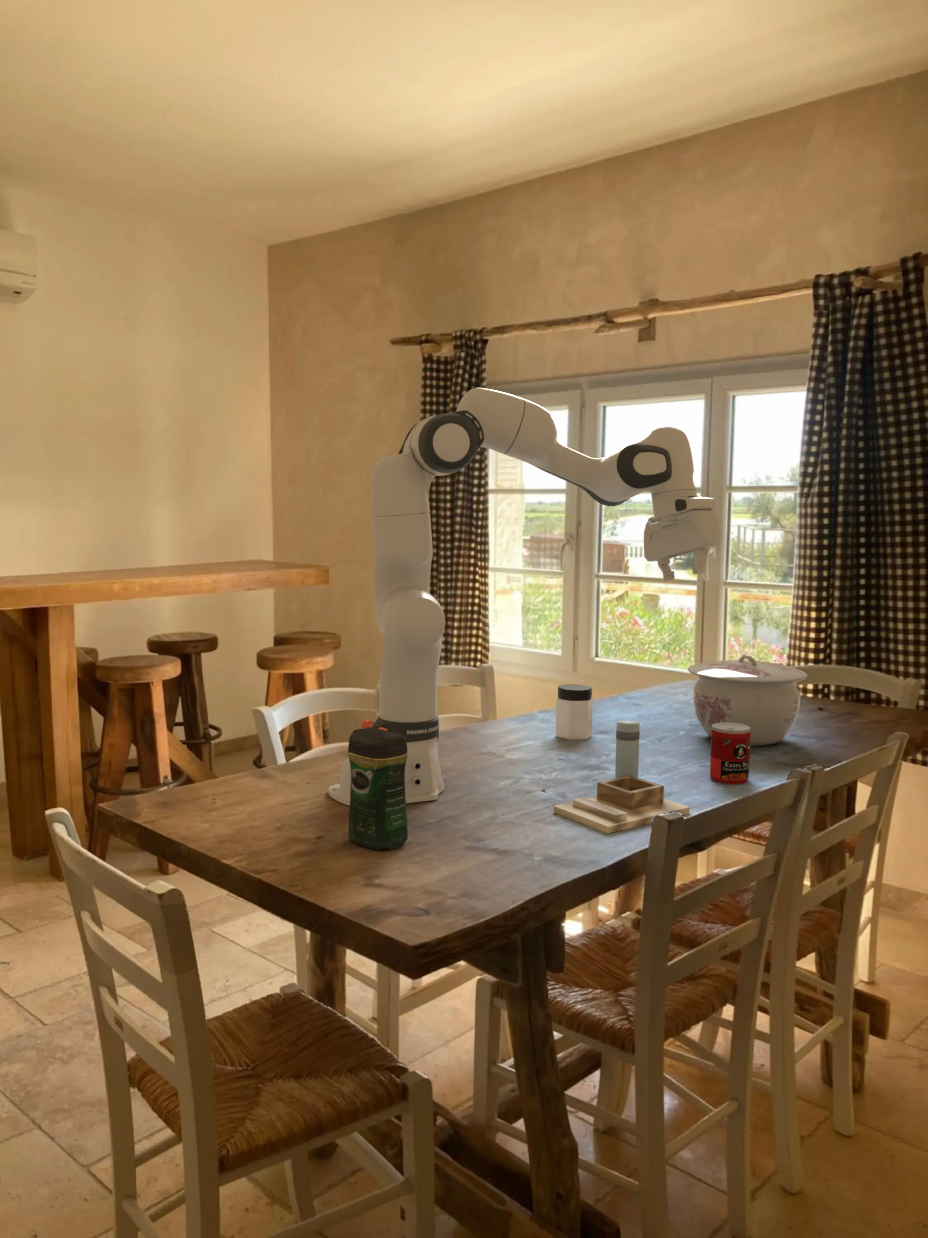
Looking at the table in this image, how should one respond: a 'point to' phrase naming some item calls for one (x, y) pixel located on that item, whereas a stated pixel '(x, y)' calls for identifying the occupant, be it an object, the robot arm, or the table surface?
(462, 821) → the table surface
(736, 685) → the chamber pot
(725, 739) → the canned food
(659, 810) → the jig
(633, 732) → the insulated water bottle
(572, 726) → the jar
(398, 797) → the coffee jar
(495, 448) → the robot arm
